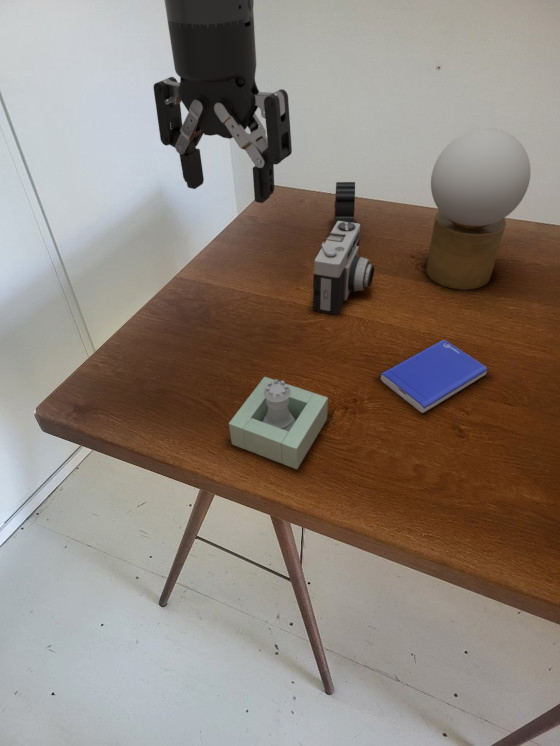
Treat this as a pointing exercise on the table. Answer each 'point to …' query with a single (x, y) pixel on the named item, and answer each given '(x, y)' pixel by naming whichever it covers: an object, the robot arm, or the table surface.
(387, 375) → the hard drive
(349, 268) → the camera
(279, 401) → the rook chess piece
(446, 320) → the table surface
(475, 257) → the lamp
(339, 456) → the table surface
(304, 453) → the socket
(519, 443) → the table surface
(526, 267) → the table surface
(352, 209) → the extruded letter emblem
